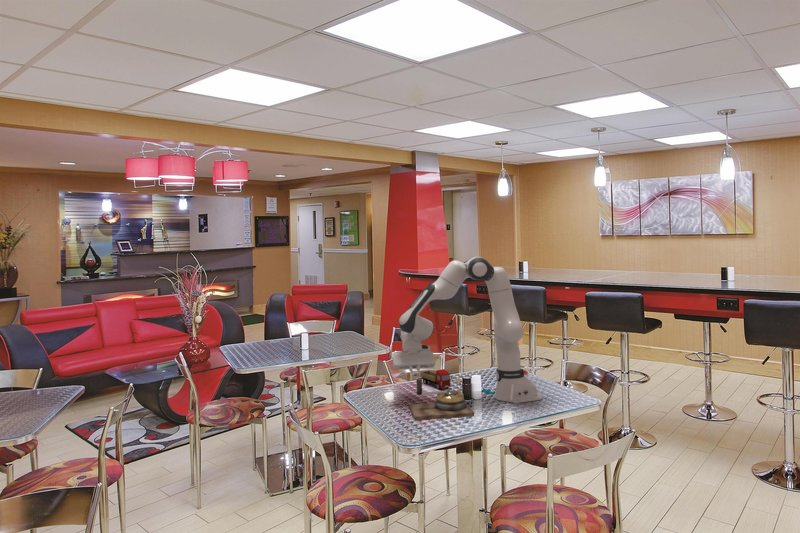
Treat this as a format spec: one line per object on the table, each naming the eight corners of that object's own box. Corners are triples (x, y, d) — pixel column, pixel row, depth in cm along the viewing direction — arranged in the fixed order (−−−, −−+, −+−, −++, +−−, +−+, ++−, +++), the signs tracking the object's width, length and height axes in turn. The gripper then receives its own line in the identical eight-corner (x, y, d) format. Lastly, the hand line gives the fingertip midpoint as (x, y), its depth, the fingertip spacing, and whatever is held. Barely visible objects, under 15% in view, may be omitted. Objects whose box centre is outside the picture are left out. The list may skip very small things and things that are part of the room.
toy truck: (441, 391, 269) (441, 372, 269) (420, 383, 287) (420, 365, 287) (452, 389, 273) (452, 370, 272) (431, 381, 291) (430, 363, 290)
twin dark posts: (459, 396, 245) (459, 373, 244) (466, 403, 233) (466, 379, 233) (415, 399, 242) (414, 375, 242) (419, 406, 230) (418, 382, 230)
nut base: (463, 404, 246) (463, 395, 246) (474, 415, 228) (474, 406, 228) (408, 407, 243) (408, 399, 243) (415, 420, 225) (414, 410, 225)
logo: (450, 379, 291) (466, 376, 295) (450, 381, 291) (466, 378, 295) (485, 394, 260) (502, 390, 264) (485, 396, 260) (502, 393, 264)
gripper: (391, 347, 251) (393, 372, 241) (433, 345, 253) (437, 370, 244) (390, 355, 255) (393, 380, 246) (431, 353, 258) (436, 377, 248)
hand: (415, 375), depth 245 cm, fingers closed
